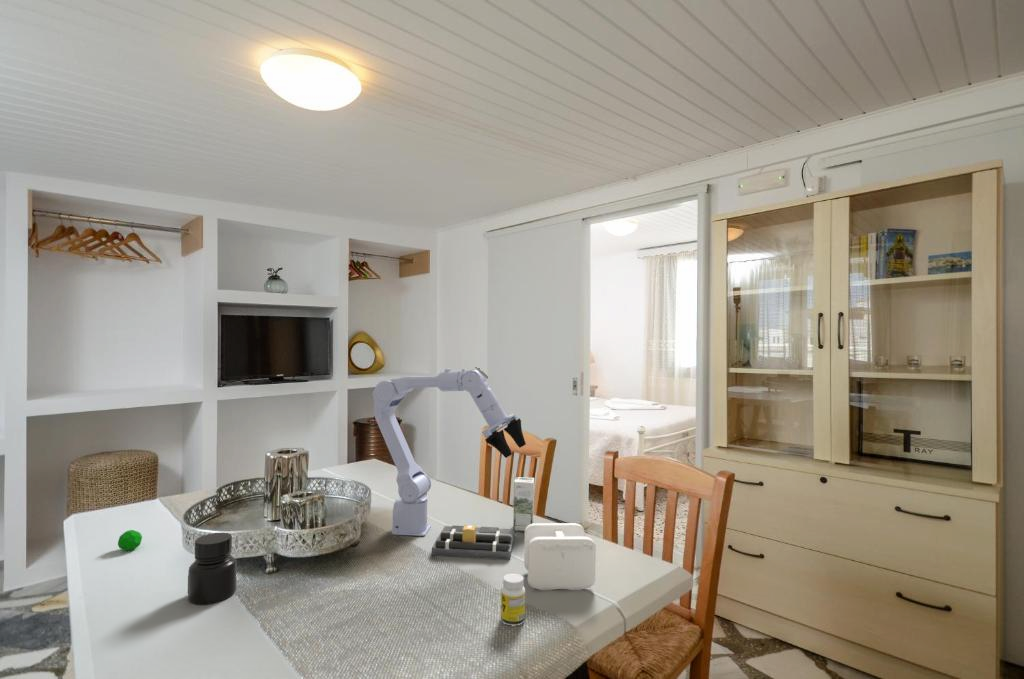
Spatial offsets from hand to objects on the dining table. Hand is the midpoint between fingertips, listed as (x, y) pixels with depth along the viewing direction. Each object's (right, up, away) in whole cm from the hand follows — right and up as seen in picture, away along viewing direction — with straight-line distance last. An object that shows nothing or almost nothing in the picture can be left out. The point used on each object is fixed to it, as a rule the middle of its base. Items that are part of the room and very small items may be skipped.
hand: (516, 451), depth 143 cm
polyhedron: (-99, -23, -9) cm, 102 cm away
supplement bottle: (-1, -25, -41) cm, 48 cm away
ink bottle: (-65, -24, -32) cm, 76 cm away
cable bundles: (-11, -23, -7) cm, 26 cm away
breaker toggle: (-12, -22, -8) cm, 27 cm away
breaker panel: (-11, -25, -3) cm, 27 cm away
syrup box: (+2, -25, +10) cm, 27 cm away
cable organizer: (+9, -25, -23) cm, 36 cm away
